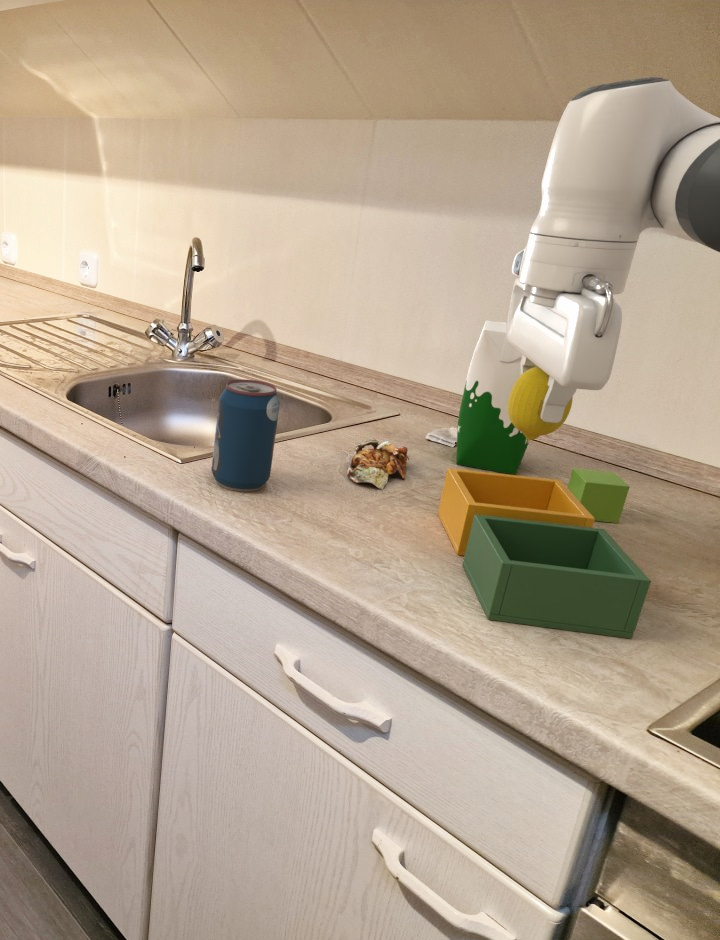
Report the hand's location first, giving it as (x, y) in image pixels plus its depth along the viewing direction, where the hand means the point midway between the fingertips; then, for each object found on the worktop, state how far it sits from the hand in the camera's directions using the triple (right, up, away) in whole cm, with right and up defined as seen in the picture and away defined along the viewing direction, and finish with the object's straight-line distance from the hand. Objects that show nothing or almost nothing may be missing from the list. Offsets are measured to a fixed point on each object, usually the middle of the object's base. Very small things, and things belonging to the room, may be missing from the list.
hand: (537, 410), depth 85 cm
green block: (+13, -11, +13) cm, 22 cm away
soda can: (-27, -7, +17) cm, 33 cm away
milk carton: (+8, -5, +28) cm, 30 cm away
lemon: (0, -3, +1) cm, 3 cm away
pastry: (-8, -6, +23) cm, 25 cm away
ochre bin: (-1, -13, +5) cm, 14 cm away
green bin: (-3, -18, -7) cm, 19 cm away
